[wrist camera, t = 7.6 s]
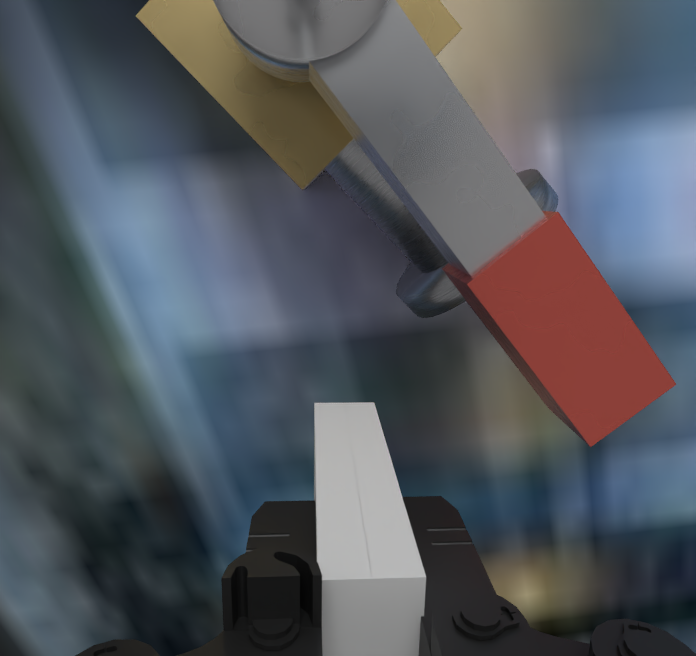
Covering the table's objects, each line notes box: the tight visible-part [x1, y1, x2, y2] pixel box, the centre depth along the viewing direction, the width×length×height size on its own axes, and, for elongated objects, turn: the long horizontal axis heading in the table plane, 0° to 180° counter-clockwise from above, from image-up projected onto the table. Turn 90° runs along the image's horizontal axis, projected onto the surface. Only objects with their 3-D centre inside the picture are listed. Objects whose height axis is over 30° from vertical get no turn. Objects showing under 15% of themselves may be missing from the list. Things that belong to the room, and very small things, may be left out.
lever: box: [213, 0, 676, 447], centre depth 13 cm, size 14×4×2 cm, turn 39°
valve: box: [136, 0, 558, 318], centre depth 17 cm, size 18×6×9 cm, turn 44°
